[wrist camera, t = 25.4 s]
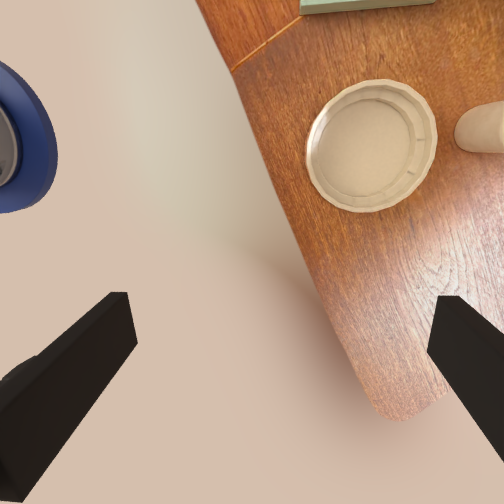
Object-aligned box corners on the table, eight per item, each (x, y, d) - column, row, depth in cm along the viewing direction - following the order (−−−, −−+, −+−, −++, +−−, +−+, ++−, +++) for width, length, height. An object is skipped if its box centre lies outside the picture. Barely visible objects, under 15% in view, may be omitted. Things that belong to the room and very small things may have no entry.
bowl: (303, 207, 42) (305, 213, 39) (305, 89, 37) (308, 83, 33) (412, 205, 41) (425, 211, 37) (431, 82, 36) (448, 74, 32)
